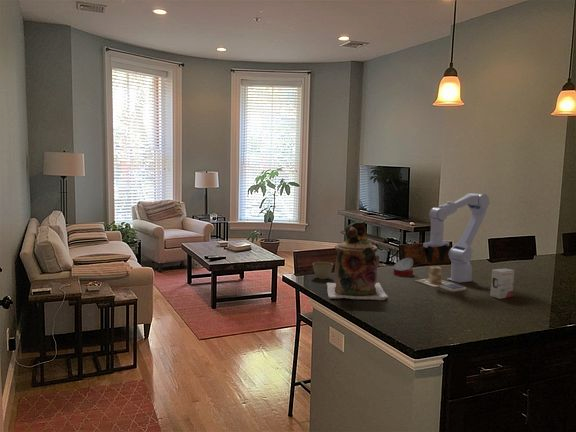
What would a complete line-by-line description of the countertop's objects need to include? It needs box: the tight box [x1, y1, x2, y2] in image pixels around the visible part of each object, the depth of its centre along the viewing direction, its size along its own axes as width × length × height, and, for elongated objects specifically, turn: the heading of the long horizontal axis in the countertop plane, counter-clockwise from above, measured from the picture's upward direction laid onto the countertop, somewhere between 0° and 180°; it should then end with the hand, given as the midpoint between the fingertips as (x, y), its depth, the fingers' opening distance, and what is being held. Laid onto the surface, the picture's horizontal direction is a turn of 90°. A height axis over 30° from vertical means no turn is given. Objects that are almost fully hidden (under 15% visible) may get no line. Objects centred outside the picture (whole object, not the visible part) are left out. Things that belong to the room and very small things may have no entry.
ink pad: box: [439, 283, 467, 292], centre depth 226 cm, size 8×8×1 cm
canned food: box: [392, 257, 414, 277], centre depth 254 cm, size 11×10×10 cm
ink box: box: [489, 267, 515, 300], centre depth 213 cm, size 9×5×12 cm, turn 116°
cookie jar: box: [326, 219, 389, 301], centre depth 213 cm, size 25×25×32 cm
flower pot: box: [312, 261, 334, 280], centre depth 242 cm, size 10×10×7 cm
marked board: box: [414, 278, 456, 288], centre depth 236 cm, size 13×13×1 cm
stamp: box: [427, 265, 443, 283], centre depth 236 cm, size 5×5×7 cm
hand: (435, 261), depth 235 cm, fingers open, 7 cm apart
